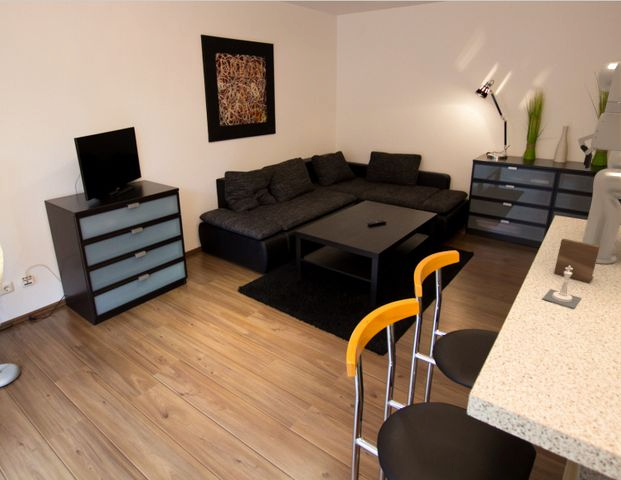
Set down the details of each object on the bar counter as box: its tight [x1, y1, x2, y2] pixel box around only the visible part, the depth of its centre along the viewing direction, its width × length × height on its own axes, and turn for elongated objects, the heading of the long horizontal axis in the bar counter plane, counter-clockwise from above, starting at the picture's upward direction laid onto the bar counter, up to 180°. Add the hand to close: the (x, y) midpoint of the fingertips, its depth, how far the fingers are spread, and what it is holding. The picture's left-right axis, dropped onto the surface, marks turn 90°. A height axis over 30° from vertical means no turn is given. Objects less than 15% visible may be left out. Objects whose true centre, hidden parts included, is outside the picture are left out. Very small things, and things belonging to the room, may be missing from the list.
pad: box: [541, 288, 582, 310], centre depth 117 cm, size 8×8×1 cm
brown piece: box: [553, 238, 600, 285], centre depth 129 cm, size 5×10×12 cm, turn 46°
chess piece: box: [552, 266, 573, 302], centre depth 115 cm, size 5×5×10 cm
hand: (606, 170), depth 119 cm, fingers open, 9 cm apart
